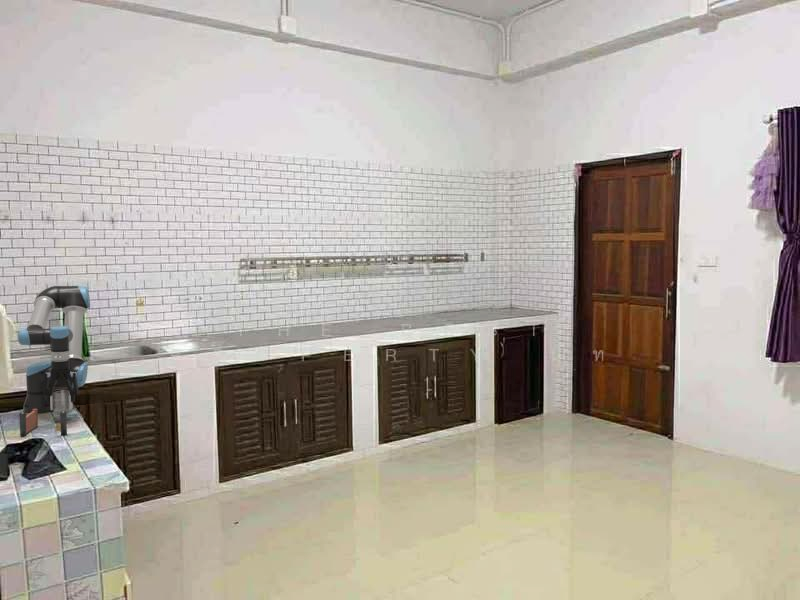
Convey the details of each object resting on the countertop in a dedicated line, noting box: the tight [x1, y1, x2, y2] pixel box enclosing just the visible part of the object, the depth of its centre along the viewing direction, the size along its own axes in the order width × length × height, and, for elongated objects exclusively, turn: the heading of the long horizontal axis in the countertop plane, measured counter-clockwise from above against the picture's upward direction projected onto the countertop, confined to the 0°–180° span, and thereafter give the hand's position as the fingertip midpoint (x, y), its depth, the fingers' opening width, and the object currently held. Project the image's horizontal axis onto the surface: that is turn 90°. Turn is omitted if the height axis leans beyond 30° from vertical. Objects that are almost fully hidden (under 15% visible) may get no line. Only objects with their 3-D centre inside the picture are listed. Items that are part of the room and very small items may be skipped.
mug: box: [52, 389, 73, 416], centre depth 302 cm, size 8×12×12 cm, turn 30°
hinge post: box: [18, 411, 28, 438], centre depth 280 cm, size 3×3×11 cm
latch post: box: [55, 411, 68, 437], centre depth 283 cm, size 4×4×11 cm
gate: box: [26, 409, 39, 434], centre depth 288 cm, size 13×2×8 cm, turn 10°
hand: (61, 409), depth 302 cm, fingers closed on mug, 7 cm apart
